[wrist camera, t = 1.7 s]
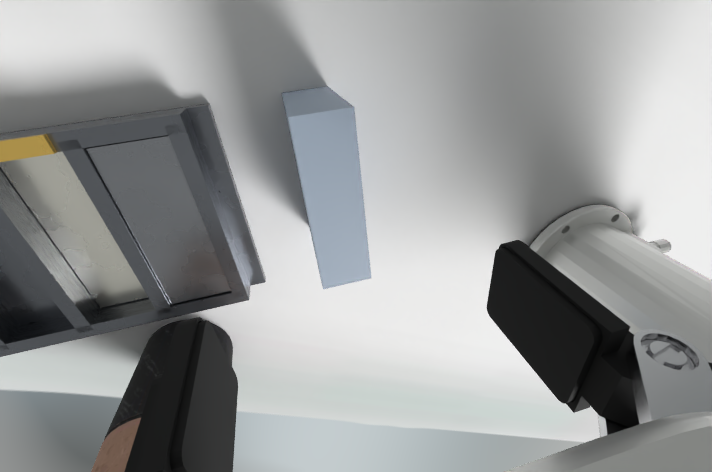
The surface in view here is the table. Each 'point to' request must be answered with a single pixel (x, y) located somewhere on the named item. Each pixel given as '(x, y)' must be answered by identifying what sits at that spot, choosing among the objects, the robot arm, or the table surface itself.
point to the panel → (330, 182)
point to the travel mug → (141, 398)
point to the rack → (118, 227)
